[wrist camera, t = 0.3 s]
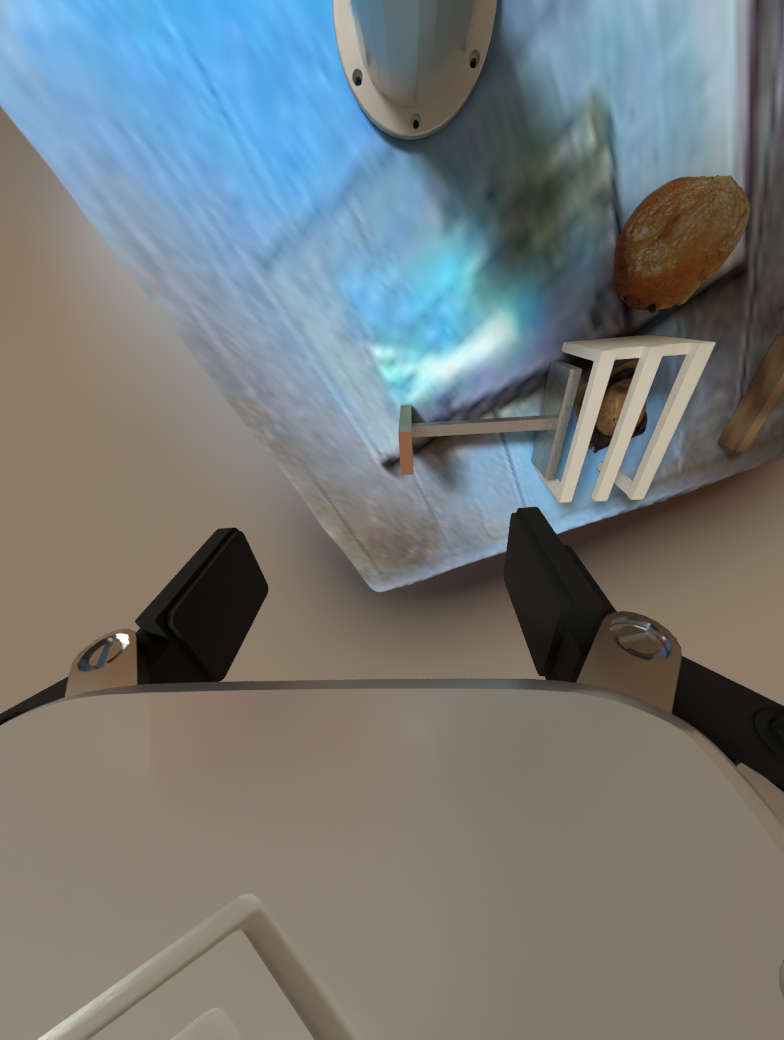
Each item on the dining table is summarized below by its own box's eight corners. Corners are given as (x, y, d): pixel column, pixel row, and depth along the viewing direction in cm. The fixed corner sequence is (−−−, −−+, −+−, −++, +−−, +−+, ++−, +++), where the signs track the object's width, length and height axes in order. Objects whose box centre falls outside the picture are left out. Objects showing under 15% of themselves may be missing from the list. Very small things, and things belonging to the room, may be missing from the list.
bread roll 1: (565, 389, 40) (578, 396, 37) (638, 352, 37) (658, 357, 34) (583, 456, 45) (595, 466, 42) (648, 427, 42) (666, 437, 39)
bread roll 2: (700, 207, 32) (790, 123, 24) (695, 313, 34) (777, 267, 26) (600, 225, 33) (655, 151, 25) (599, 327, 35) (650, 287, 27)
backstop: (777, 334, 35) (805, 336, 32) (789, 333, 35) (818, 335, 32) (717, 443, 42) (736, 451, 40) (726, 442, 42) (746, 451, 40)
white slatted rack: (563, 341, 36) (602, 351, 29) (652, 334, 35) (716, 342, 28) (535, 471, 46) (559, 502, 39) (605, 467, 45) (643, 499, 38)
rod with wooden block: (398, 373, 39) (395, 392, 30) (560, 360, 37) (606, 377, 28) (404, 466, 46) (403, 503, 38) (539, 459, 45) (570, 497, 36)
